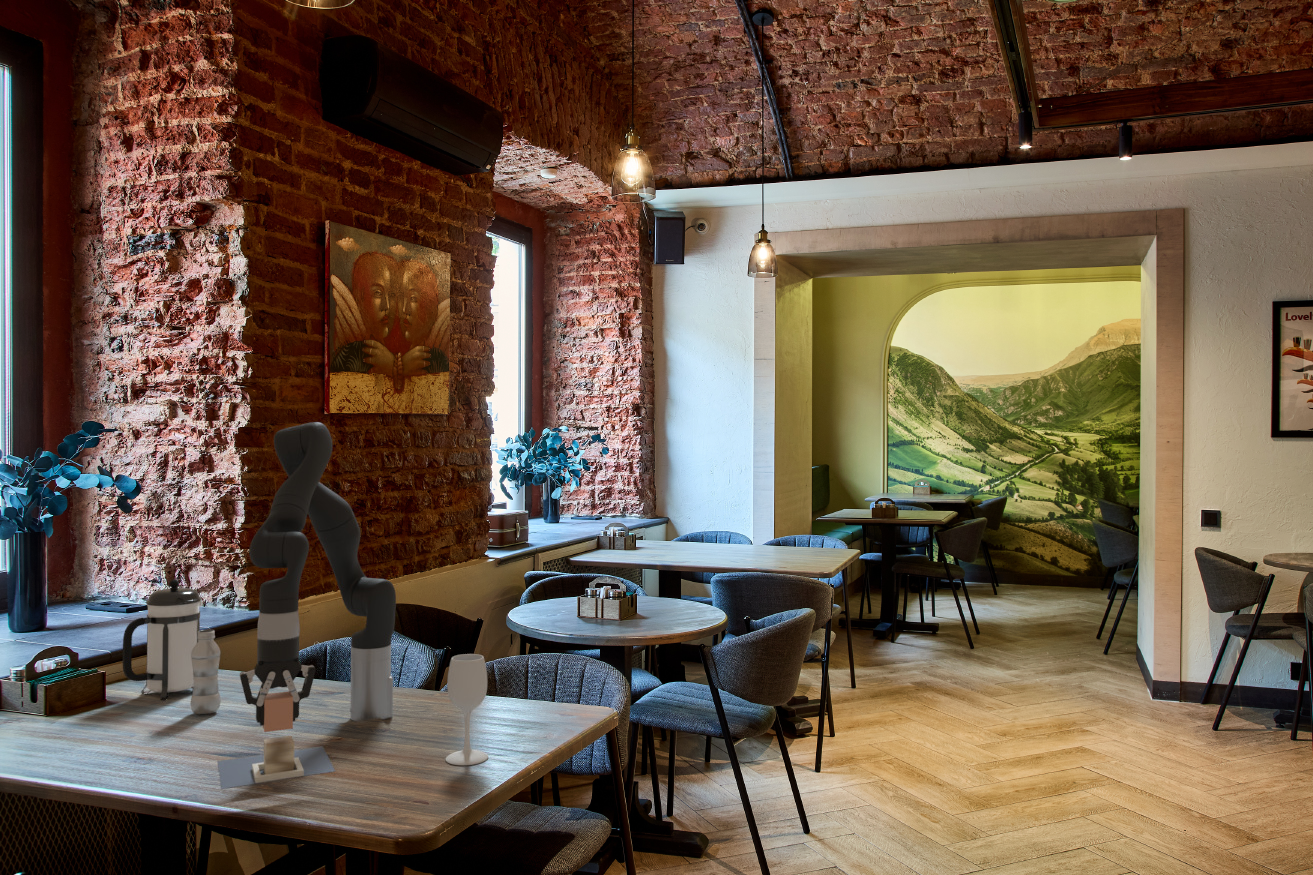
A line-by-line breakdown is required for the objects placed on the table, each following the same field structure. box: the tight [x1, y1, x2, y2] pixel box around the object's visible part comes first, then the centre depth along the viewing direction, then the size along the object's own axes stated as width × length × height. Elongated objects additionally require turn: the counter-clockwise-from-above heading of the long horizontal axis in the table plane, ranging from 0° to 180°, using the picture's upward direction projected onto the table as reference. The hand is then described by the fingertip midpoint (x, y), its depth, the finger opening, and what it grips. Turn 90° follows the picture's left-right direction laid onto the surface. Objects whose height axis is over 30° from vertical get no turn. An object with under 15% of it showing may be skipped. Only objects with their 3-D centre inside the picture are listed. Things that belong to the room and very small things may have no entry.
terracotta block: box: [262, 691, 294, 733], centre depth 175 cm, size 5×5×6 cm
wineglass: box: [445, 653, 489, 766], centre depth 188 cm, size 9×9×21 cm
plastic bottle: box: [189, 629, 222, 715], centre depth 220 cm, size 6×7×20 cm
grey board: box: [217, 746, 336, 790], centre depth 179 cm, size 20×17×2 cm
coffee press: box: [122, 579, 204, 701], centre depth 238 cm, size 17×16×30 cm
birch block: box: [263, 735, 295, 774], centre depth 175 cm, size 5×5×6 cm
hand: (277, 721), depth 175 cm, fingers closed on terracotta block, 5 cm apart
